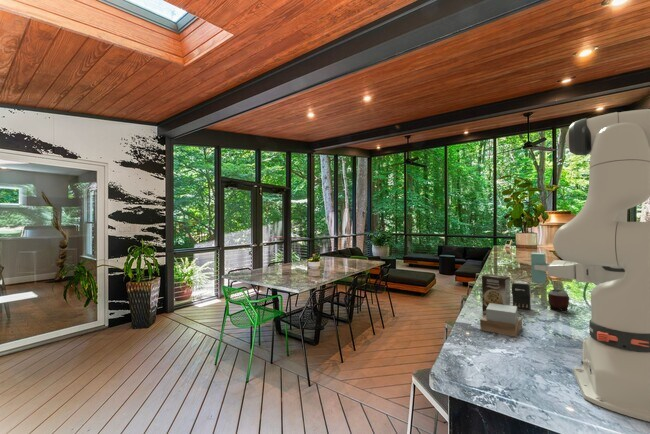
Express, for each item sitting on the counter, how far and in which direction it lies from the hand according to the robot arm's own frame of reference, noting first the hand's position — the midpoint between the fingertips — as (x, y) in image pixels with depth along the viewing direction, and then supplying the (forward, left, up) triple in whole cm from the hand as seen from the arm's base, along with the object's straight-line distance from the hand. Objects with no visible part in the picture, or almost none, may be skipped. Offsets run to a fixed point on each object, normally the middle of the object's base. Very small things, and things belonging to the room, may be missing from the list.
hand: (535, 266), depth 114 cm
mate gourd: (+25, -4, -22) cm, 34 cm away
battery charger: (+17, +8, -22) cm, 29 cm away
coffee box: (+2, +14, -22) cm, 26 cm away
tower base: (-15, +9, -22) cm, 28 cm away
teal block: (0, -1, -6) cm, 6 cm away
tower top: (-15, +9, -18) cm, 25 cm away
